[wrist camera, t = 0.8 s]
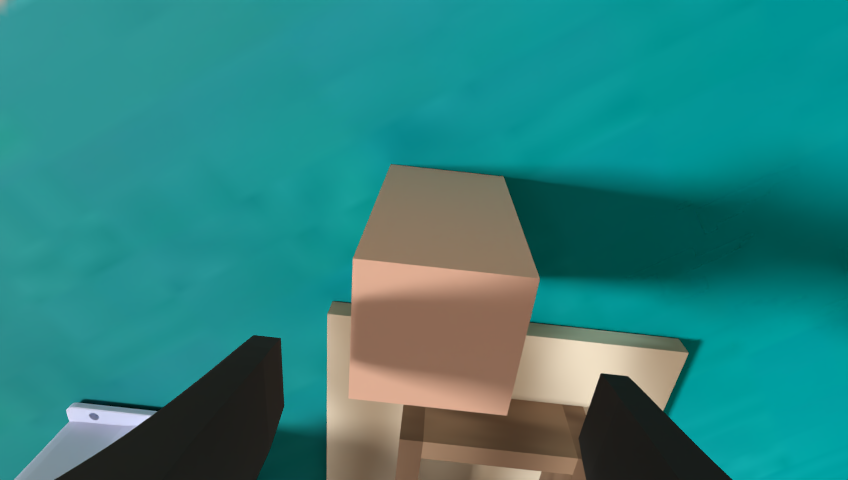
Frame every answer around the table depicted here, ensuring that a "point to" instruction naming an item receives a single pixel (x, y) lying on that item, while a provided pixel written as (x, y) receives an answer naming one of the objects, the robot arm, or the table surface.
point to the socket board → (489, 433)
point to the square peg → (440, 293)
